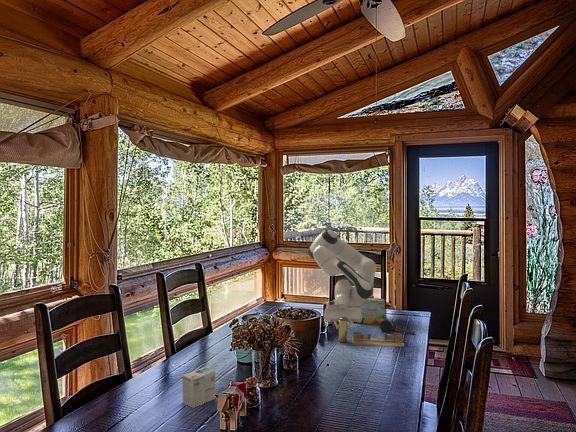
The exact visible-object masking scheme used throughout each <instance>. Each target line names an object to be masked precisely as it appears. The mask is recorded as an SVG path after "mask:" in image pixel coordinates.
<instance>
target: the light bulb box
mask: <svg viewBox="0 0 576 432" xmlns="http://www.w3.org/2000/svg"><path fill="white" fill-rule="evenodd" d="M181 378H182V383H181V384H182V404H183V403H184V404H183V405H185V404H186V405H185V406H187V405H188V406H187V407H189V406H190V407H189V408H191V407H192V409H193V408H194V409H196V408H198V407H200V406H202V405H205V404H207V403H209V402H211V401H214V400H215V399H217V398H216V396H215V395H217V393H216V392H217V391H216V370H215V369H211V368H208V367H206V366H202V367H200V368H198V369H196V370H193V371H190V372H187V373H185V374H182V375H181ZM206 402H207V403H206ZM204 403H205V404H204ZM199 405H200V406H199ZM197 406H198V407H197ZM195 407H196V408H195Z"/></svg>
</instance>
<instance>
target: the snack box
mask: <svg viewBox="0 0 576 432" xmlns="http://www.w3.org/2000/svg"><path fill="white" fill-rule="evenodd" d="M360 307H361V308H362V313H361V314H362V321H361V322H357V323H356V324H366V323H367V325H379V326H380V323H381V322H382V321H383V320H386V310H385V309H386V299H385V298H375V297H374V298H368V299H367V300H366V301H365V302H364V303H363V304H362V305H361V306H359V308H360Z"/></svg>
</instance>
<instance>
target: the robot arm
mask: <svg viewBox="0 0 576 432" xmlns="http://www.w3.org/2000/svg"><path fill="white" fill-rule="evenodd" d="M307 254H308V255H309V257H310V258H311V259H312V260H314V261H315V262H316V264H317V265H318V266H319V268H320V269H321V270H322V272H323V273H324V274H326V275H327V276H328V277H329V276H330V277H334V276H337V275H344V276H345V277H346V278H347V279H345V278H343V279H339V280H337V282H336V283H335V285H334V300H329V301H328V302H326V307H325V309H324V314H323V320H324V322H326V323H333V324H334V325H335V329H336V330H339V317H347V323H348V324H347V330H351V326H352V325H353V323H354V322H361V321H362V314H361V313H362V308H361V307H360V308H359V306H361V305H362V304H363V303H364V302H365V301H366V300H367V299H368V298H375V297H374V281H375V278H376V277H375V276H376V272H377V269H378V268H377V264H376V262H375V261H374V260H373V259H371V258H368V257H367V256H365V255H364V254H362V253H361V252H359V251H358V250H357V249H356V248H354V247H353V246H352V245H350V244H349V243H347V242H346V241H344V240H342V239H341V238H339V237H338V235H337V233H336V232H335V231H334V230H332V229H330V228H325V229H324V230H322V231H321V232H320V234H319V235H317V237H316V238H314V241H313V242H312V243H311V245H309V247H308V249H307ZM350 282H351V283H352V284H353V285H354V286H353V285H352V284H351V283H350ZM337 323H338V324H337Z"/></svg>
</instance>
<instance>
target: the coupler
mask: <svg viewBox="0 0 576 432" xmlns="http://www.w3.org/2000/svg"><path fill="white" fill-rule="evenodd" d="M338 325H339V329H338V342H340V343H348V329H347V325H348V322H347V317H339V322H338Z"/></svg>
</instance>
